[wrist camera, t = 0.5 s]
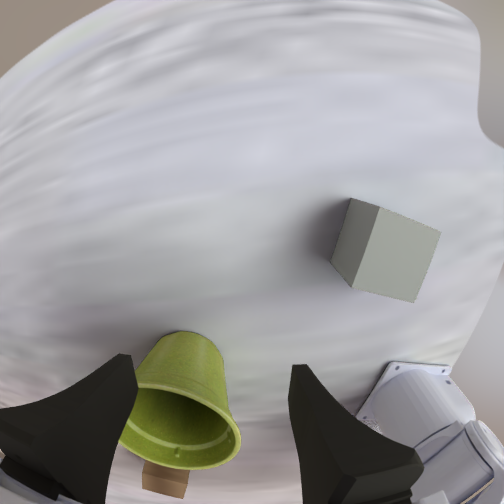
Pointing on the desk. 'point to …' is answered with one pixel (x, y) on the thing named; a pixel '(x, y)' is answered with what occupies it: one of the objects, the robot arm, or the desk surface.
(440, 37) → the desk surface
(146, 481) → the walnut block
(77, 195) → the desk surface
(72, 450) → the robot arm
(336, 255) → the slate block
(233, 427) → the plant pot
